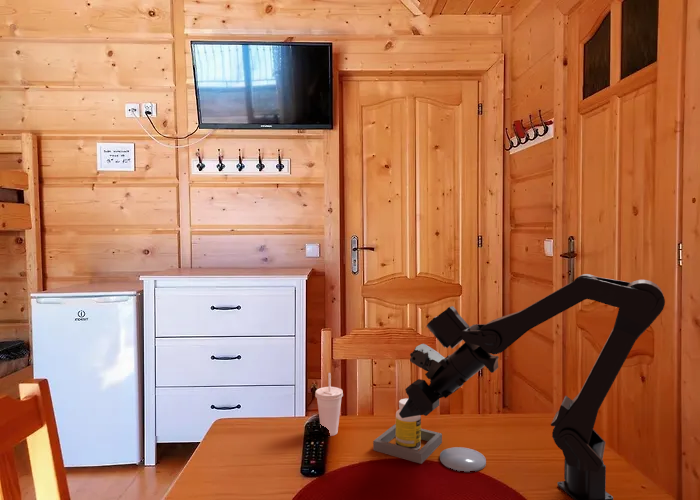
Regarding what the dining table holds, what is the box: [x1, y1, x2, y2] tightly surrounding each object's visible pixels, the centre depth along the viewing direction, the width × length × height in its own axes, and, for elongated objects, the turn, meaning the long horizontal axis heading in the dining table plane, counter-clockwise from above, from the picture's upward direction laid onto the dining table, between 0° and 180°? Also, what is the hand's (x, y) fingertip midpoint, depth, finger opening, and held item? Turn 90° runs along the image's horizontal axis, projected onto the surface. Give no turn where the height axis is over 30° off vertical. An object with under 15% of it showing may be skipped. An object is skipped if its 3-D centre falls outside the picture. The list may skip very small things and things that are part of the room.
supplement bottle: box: [395, 397, 422, 451], centre depth 99 cm, size 5×5×10 cm
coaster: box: [439, 446, 487, 473], centre depth 93 cm, size 9×9×1 cm
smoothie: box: [314, 372, 344, 437], centre depth 106 cm, size 6×6×14 cm
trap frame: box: [372, 423, 443, 465], centre depth 99 cm, size 11×11×2 cm
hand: (410, 408), depth 99 cm, fingers open, 9 cm apart
